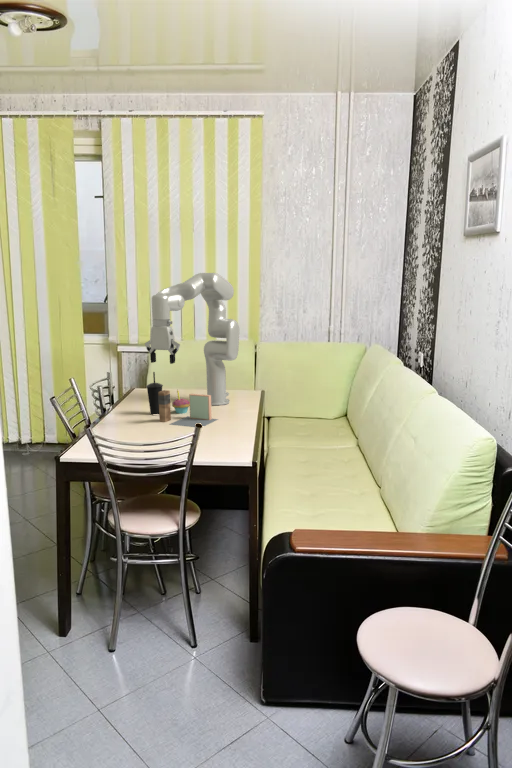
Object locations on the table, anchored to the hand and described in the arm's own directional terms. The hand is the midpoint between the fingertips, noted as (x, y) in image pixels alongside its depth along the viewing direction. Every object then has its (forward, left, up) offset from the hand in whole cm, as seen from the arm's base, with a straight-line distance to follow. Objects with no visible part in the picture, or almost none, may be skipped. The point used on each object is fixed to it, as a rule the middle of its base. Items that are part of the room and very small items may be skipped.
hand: (162, 362), depth 271 cm
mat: (-4, +13, -27) cm, 30 cm away
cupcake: (-18, -2, -27) cm, 32 cm away
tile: (-10, +13, -26) cm, 31 cm away
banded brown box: (-1, 0, -27) cm, 27 cm away
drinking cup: (-13, -13, -27) cm, 33 cm away
